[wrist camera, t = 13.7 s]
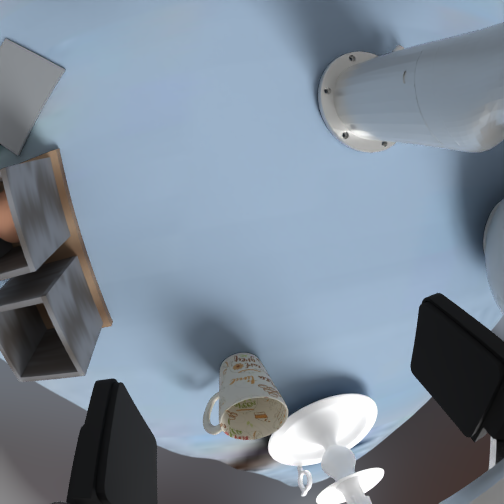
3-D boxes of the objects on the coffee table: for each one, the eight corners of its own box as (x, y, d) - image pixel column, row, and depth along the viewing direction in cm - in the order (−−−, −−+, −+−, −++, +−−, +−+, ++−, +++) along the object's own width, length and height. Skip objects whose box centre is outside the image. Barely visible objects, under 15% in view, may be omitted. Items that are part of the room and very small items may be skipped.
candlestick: (244, 466, 53) (276, 587, 28) (287, 379, 46) (358, 541, 21) (332, 461, 59) (379, 559, 33) (388, 381, 52) (470, 492, 26)
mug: (281, 363, 45) (302, 412, 36) (223, 411, 46) (232, 461, 37) (239, 335, 42) (254, 386, 33) (180, 388, 43) (183, 441, 34)
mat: (7, 39, 23) (5, 38, 22) (65, 69, 27) (64, 69, 26) (-35, 118, 25) (-36, 118, 24) (19, 155, 29) (17, 155, 28)
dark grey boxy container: (-12, 178, 28) (-66, 196, 18) (59, 148, 30) (11, 156, 19) (44, 334, 36) (16, 386, 26) (112, 321, 38) (95, 378, 28)
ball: (18, 172, 28) (-10, 181, 23) (56, 198, 30) (31, 211, 25) (2, 216, 30) (-25, 232, 24) (38, 242, 32) (14, 261, 26)
